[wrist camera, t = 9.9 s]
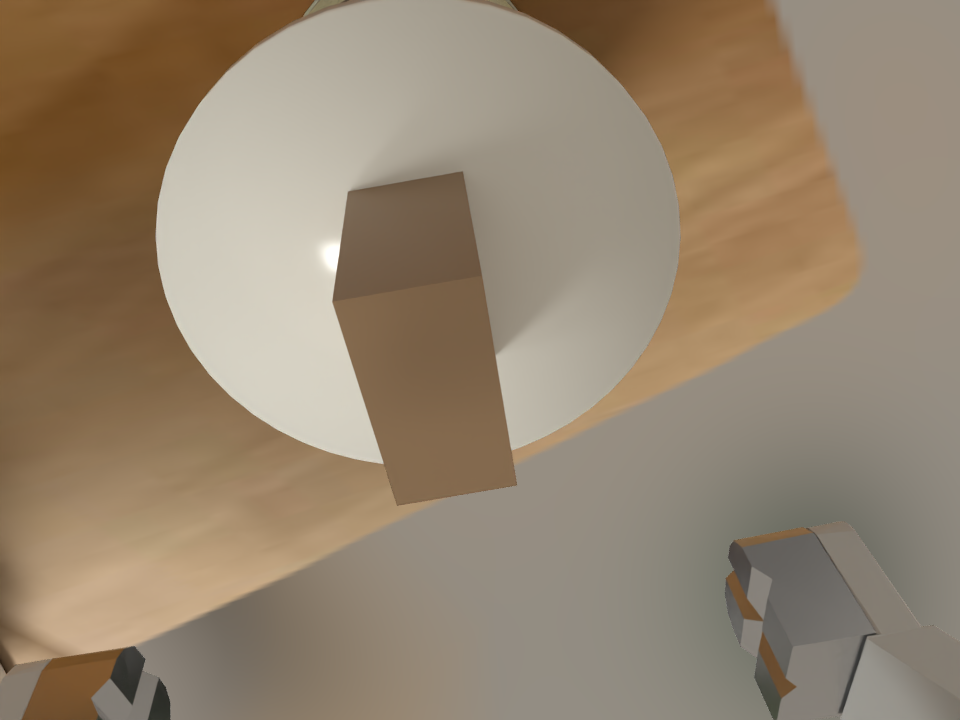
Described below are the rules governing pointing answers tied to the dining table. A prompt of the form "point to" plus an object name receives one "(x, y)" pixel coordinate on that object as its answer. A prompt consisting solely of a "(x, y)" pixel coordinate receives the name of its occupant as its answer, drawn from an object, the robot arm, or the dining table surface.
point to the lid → (418, 236)
